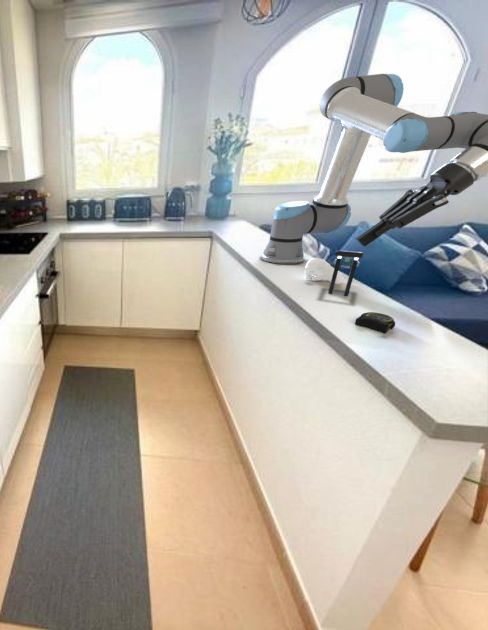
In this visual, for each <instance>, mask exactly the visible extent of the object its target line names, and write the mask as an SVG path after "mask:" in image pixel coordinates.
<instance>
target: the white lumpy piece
mask: <svg viewBox="0 0 488 630" xmlns="http://www.w3.org/2000/svg"><path fill="white" fill-rule="evenodd" d="M334 268H335V267H333V266H332V265H331V264H330V263H329V262H327V261H326V260H325V259H323V258H320V257H311V258H310V259H309V260H308V261H307V262H306V264H305V266H304V278H305V280H306V281H309V282H311V281H313V282H317V281H328V282H331V280H332V276H333V272H334ZM345 281H346V276H345V274H344V273H341V272H340V271H338V273H337V277H336V281H335V285H337V284H344V283H345Z"/></svg>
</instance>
